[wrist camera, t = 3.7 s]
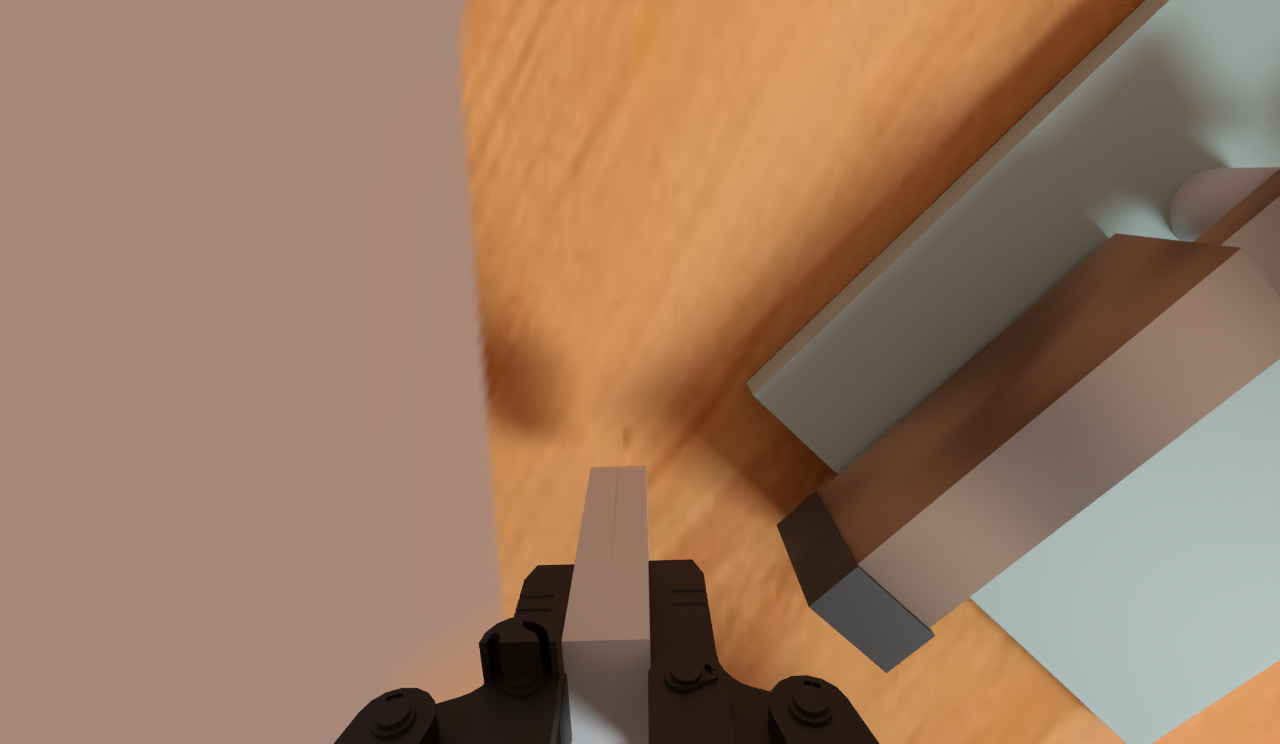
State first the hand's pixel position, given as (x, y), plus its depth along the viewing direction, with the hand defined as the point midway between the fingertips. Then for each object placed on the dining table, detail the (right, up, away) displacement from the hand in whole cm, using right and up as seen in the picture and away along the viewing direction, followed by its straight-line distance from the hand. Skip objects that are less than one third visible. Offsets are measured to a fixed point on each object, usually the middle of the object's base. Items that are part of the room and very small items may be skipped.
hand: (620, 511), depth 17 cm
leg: (+11, +4, +1) cm, 12 cm away
